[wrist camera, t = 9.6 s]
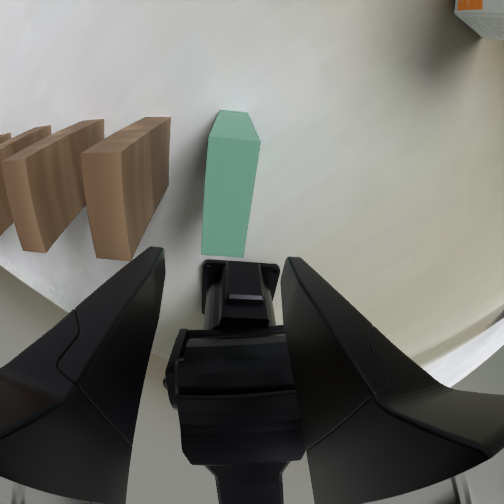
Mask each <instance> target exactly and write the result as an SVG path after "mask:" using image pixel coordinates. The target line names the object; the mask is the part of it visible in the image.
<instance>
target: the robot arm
mask: <svg viewBox="0 0 504 504" xmlns="http://www.w3.org/2000/svg"><path fill="white" fill-rule="evenodd" d="M207 265H211V266H210V267H208V266H207ZM273 269H276V270H275V271H272V270H273ZM279 274H280V268H279V266H278V265H277V264H267V263H254V262H240V261H223V260H205V261H204V263H203V276H202V313H203V314H204V315H205V318H204V330H188V329H180V331H179V334H178V337H177V338H176V341H175V344H174V347H173V350H172V353H171V356H170V359H169V362H168V365H167V368H166V371H165V375H166V376H165V377H164V379H163V385H164V387H165V388H166V389H167V390H168V395H169V400H170V403H171V405H172V407H173V408H174V409H177V410H178V415H179V421H180V430H181V443H182V451H183V453H184V454H185V456H186V457H187V459H188V460H189V462H190V463H191V464H192V465H204V466H205V467H206V468H207V469H208V470H209V471H210V472H211V473H212V474H213V475H214V476H215V479H216V486H217V493H218V500H219V504H284V502H283V484H282V473H283V471H284V470H285V468H286V467H287V466H288V464H289V463H290V461H295V460H300V459H301V458H302V457H303V455H304V453H305V451H306V450H307V451H306V452H307V458H308V464H309V470H310V476H311V482H312V489H313V495H314V501H315V504H504V395H497V394H486V393H477V392H468V391H460V390H455V389H451V388H449V387H446V386H444V385H443V384H441V383H439V382H438V381H437V380H435V379H434V378H433V377H432V376H431V375H429V374H428V373H427V372H426V371H425V370H423V369H422V368H421V367H420V366H419V365H417V364H416V363H415V362H414V361H412V360H411V359H410V358H409V357H408V356H406V355H405V354H404V353H403V352H402V351H401V350H399V349H398V348H397V347H396V346H395V345H394V344H393V343H392V342H390V341H389V340H388V339H387V338H386V337H385V336H384V335H383V334H382V333H381V332H380V331H379V330H378V329H377V328H376V327H375V326H373V325H372V324H371V323H370V322H369V321H368V320H367V319H366V318H365V317H364V316H363V315H362V314H361V313H360V312H359V311H358V310H357V309H356V308H355V307H353V306H352V305H351V304H350V303H349V302H348V301H347V300H346V299H345V298H344V297H343V296H342V295H341V294H340V293H339V292H337V291H336V290H335V289H334V288H333V287H332V286H331V285H330V284H329V283H328V282H327V281H326V280H325V279H323V278H322V277H321V276H320V275H319V274H318V273H317V272H316V271H315V270H314V269H313V268H311V267H310V266H309V265H308V264H307V263H306V262H305V261H304V260H303V259H301V258H300V257H287V259H286V261H285V265H284V268H283V272H282V276H281V296H282V310H283V324H284V325H276V322H275V316H274V310H273V303H272V301H273V297H274V293H275V290H276V286H277V282H278V278H279ZM164 280H165V257H164V249H163V248H162V247H149V248H148V249H146V250H145V251H144V252H142V253H141V254H140V255H139V256H137V257H136V258H135V259H133V260H132V261H131V262H130V263H128V264H127V265H126V266H125V267H123V268H122V269H121V270H120V271H118V272H117V273H116V274H115V275H114V276H112V277H111V278H110V279H109V280H107V281H106V282H105V283H104V284H103V285H101V286H100V287H99V288H98V289H97V290H95V291H94V292H93V293H92V294H91V295H90V296H88V297H87V298H86V299H85V300H84V301H83V302H81V303H80V304H79V305H78V306H77V307H76V308H75V310H72V311H71V312H70V313H69V314H68V315H67V316H66V317H64V318H63V319H62V320H61V321H60V322H59V323H57V324H56V325H55V326H54V327H53V328H52V329H50V330H49V331H48V332H47V333H45V334H44V335H43V336H42V337H41V338H39V339H38V340H37V341H35V342H34V343H33V344H31V345H30V346H29V347H28V348H26V349H25V350H24V351H23V352H21V353H20V354H19V355H18V356H17V357H15V358H14V359H13V360H12V361H10V362H9V363H8V364H6V365H5V366H3V367H1V368H0V504H125V503H126V493H127V482H128V474H129V466H130V459H131V452H132V444H133V438H134V432H135V426H136V420H137V414H138V408H139V403H140V398H141V394H142V389H143V383H144V379H145V374H146V370H147V366H148V361H149V357H150V353H151V348H152V344H153V340H154V336H155V332H156V328H157V324H158V320H159V314H160V307H161V299H162V293H163V286H164ZM372 326H373V327H372Z"/></svg>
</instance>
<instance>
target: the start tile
mask: <svg viewBox="0 0 504 504" xmlns="http://www.w3.org/2000/svg"><path fill="white" fill-rule="evenodd" d="M260 143H261V141H260V139H259V136H258V134H257V132H256V130H255V128H254V125H253V123H252V121H251V119H250V117H249V115H248V113H246V112H237V111H226V110H220V111H219V113H218V116H217V118H216V120H215V123H214V125H213V127H212V130H211V132H210V135H209V138H208V150H207V162H206V174H205V189H204V205H203V223H202V246H201V255H213V256H227V257H241V258H243V256H244V249H245V243H246V236H247V229H248V222H249V216H250V209H251V202H252V196H253V189H254V182H255V176H256V169H257V163H258V156H259V150H260Z"/></svg>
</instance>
